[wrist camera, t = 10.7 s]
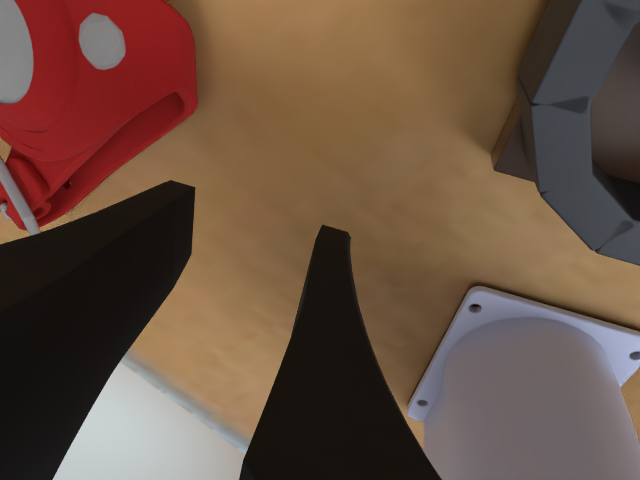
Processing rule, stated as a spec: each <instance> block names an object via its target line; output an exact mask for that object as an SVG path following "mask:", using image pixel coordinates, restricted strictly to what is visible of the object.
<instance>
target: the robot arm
mask: <svg viewBox="0 0 640 480" xmlns="http://www.w3.org/2000/svg"><path fill="white" fill-rule="evenodd" d="M194 202H195V187H192V186H189V185H185V184H182V183H179V182H175V181H172V180H170V181H167V182H165V183H162V184H160V185H157V186H155V187H153V188H151V189H148V190H146V191H144V192H141V193H139V194H137V195H135V196H132V197H130V198H128V199H126V200H123V201H121V202H119V203H116V204H114V205H112V206H109V207H107V208H105V209H102V210H100V211H98V212H95V213H93V214H90V215H87V216H85V217H82V218H79V219H77V220H74V221H71V222H69V223H66V224H63V225H61V226H58V227H56V228H53V229H50V230H47V231H44V232H41V233H38V234H35V235H31V236H28V237H25V238H21V239H18V240H14V241H11V242H7V243H4V244H0V480H52V479H53V478H54V476H55V474H56V472H57V470H58V468H59V466H60V464H61V462H62V460H63V458H64V456H65V455H66V453H67V451H68V449H69V447H70V446H71V443H72V442H73V440H74V438H75V437H76V435H77V433H78V431H79V429H80V427H81V426H82V424H83V422H84V420H85V419H86V417H87V415H88V413H89V411H90V410H91V408H92V406H93V404H94V403H95V401H96V399H97V398H98V396H99V394H100V392H101V391H102V389H103V387H104V386H105V384H106V382H107V381H108V379H109V377H110V375H111V374H112V372H113V371H114V369H115V368H116V366H117V365H118V363H119V362H120V360H121V359H122V358H123V356H124V355H125V353H126V352H127V351H128V349H129V348H130V347H131V345H132V344H133V343H134V341H135V340H136V339H137V337H138V336H139V334H140V333H141V332H142V330H143V329H144V328H145V326H146V325H147V324H148V322H149V321H150V320H151V318H152V317H153V315H154V314H155V313H156V311H157V310H158V309H159V307H160V306H161V304H162V303H163V302H164V300H165V299H166V298H167V296H168V295H169V293H170V292H171V291H172V289H173V288H174V286H175V284H176V282H177V280H178V279H179V277H180V275H181V273H182V271H183V269H184V268H185V266H186V264H187V262H188V260H189V258H190V256H191V252H192V235H193V219H194ZM350 241H351V237H350V235H349V233H348V232H346V231H342V230H339V229H336V228H332V227H329V226H325V225H322V226H321V228H320V231H319V233H318V235H317V238H316V240H315V244H314V248H313V252H312V256H311V260H310V263H309V267H308V271H307V275H306V279H305V283H304V287H303V291H302V295H301V299H300V303H299V307H298V311H297V314H296V318H295V322H294V326H293V331H292V335H291V339H290V342H289V344H288V347H287V350H286V352H285V355H284V358H283V360H282V363H281V366H280V369H279V371H278V374H277V376H276V379H275V382H274V384H273V387H272V389H271V392H270V395H269V397H268V400H267V402H266V405H265V408H264V410H263V413H262V415H261V418H260V420H259V423H258V425H257V428H256V430H255V433H254V435H253V438H252V440H251V443H250V445H249V448H248V450H247V452H246V455H245V457H244V460H243V464H242V469H241V474H240V478H239V480H640V441H639V438H638V436H637V433H636V430H635V427H634V425H633V422H632V419H631V417H630V414H629V411H628V408H627V406H626V403H625V400H624V398H623V395H622V392H621V389H620V387H621V386H622V385H623V384H624V383H625V382H626V381H627V380H628V379H629V377H630V376H631V375H632V374H633V373H634V372H635V371H636V370H637V369H638V368H639V367H640V332H639V331H636V330H632V329H629V328H626V327H622V326H619V325H615V324H612V323H608V322H605V321H601V320H598V319H594V318H591V317H588V316H584V315H581V314H577V313H574V312H570V311H567V310H563V309H560V308H556V307H553V306H550V305H546V304H543V303H539V302H536V301H532V300H529V299H525V298H522V297H518V296H515V295H512V294H508V293H505V292H501V291H498V290H494V289H491V288H487V287H484V286H475V287H473V288H471V289H470V290H469V291H468V292H467V294H466V296H465V298H464V300H463V302H462V304H461V306H460V307H459V309H458V311H457V313H456V315H455V317H454V319H453V321H452V323H451V324H450V326H449V328H448V330H447V332H446V334H445V336H444V338H443V340H442V341H441V343H440V345H439V347H438V349H437V351H436V353H435V355H434V357H433V359H432V360H431V362H430V364H429V366H428V368H427V370H426V372H425V374H424V376H423V377H422V379H421V381H420V383H419V385H418V387H417V389H416V391H415V393H414V394H413V396H412V398H411V400H410V402H409V404H408V406H407V415H408V416H409V417H410V418H412V419H415V420H418V421H422V422H424V443H423V450H422V448H421V446H420V445H419V443H418V441H417V440H416V438H415V436H414V434H413V433H412V431H411V429H410V428H409V426H408V424H407V422H406V420H405V418H404V416H403V414H402V412H401V410H400V409H399V407H398V405H397V403H396V401H395V399H394V397H393V395H392V393H391V391H390V389H389V387H388V385H387V383H386V381H385V378H384V376H383V374H382V371H381V369H380V367H379V364H378V362H377V359H376V357H375V354H374V351H373V349H372V346H371V343H370V340H369V338H368V335H367V331H366V328H365V325H364V321H363V318H362V314H361V311H360V307H359V303H358V299H357V294H356V289H355V284H354V279H353V273H352V265H351V255H350ZM472 304H478V305H479V306H477V307H472V306H470V305H472ZM635 351H638V352H636V353H632V352H635Z"/></svg>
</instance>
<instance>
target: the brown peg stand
mask: <svg viewBox="0 0 640 480" xmlns="http://www.w3.org/2000/svg"><path fill="white" fill-rule="evenodd" d="M590 107H591V137H592V159H593V160H594V161H595V162H596V163H597V165H598V166H599V167H600V168H601V169H602V170H603V172H604V173H605V174H606V175H607V176H611V177H614V178H618V179H622V180H625V181H629V182H632V183H636V184H640V22H638V23H637V24H636V25H635V26H634V28H633V30H632V31H631V33H630V35H629V37H628V39H627V40H626V42H625V44H624V46H623V47H622V49H621V51H620V53H619V55H618V56H617V58H616V60H615V62H614V63H613V65H612V67H611V69H610V71H609V72H608V74H607V76H606V78H605V79H604V81H603V83H602V85H601V87H600V88H599V90H598V92H597V94H596V95H595V97H594V99H593V101H592V103H591V104H590ZM491 159H492V164H493V169H494V171H497V172H501V173H504V174H508V175H511V176H515V177H519V178H522V179H526V180H529V181H533V182H535V181H534V178H533V175H532V172H531V169H530V166H529V163H528V160H527V157H526V154H525V150H524V141H523V132H522V123H521V114H520V104H519V96H518V98H517V100H516V102H515V105H514V107H513V109H512V111H511V113H510V115H509V118H508V120H507V122H506V124H505V126H504V128H503V131H502V133H501V135H500V137H499V139H498V141H497V144H496V146H495V148H494V150H493V152H492V155H491Z"/></svg>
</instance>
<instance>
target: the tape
mask: <svg viewBox="0 0 640 480" xmlns="http://www.w3.org/2000/svg"><path fill="white" fill-rule="evenodd" d="M638 22H640V0H549V2H548V4H547V7H546V9H545V11H544V13H543V16H542V18H541V20H540V22H539V24H538V27H537V29H536V31H535V33H534V36H533V38H532V40H531V42H530V45H529V47H528V49H527V51H526V53H525V56H524V58H523V60H522V62H521V65H520V67H519V69H518V74H519V75H517V86H518V95H519V104H520V114H521V123H522V132H523V141H524V150H525V154H526V157H527V160H528V163H529V166H530V169H531V172H532V175H533V178H534V181H535V184H536V187H537V190H538V192H539V193H540V196H541V197H542V198H543V199H544V200H545V201H546V202H547V203H548V205H549V206H550V207H551V208H552V209H553V210H554V211H555V212H556V213H557V214H558V215H559V216H560V217H561V218H562V220H563V221H564V222H565V223H566V224H567V225H568V226H569V227H570V228H571V229H572V230H573V231H574V232H575V233H576V234H577V236H578V237H579V238H580V239H581V240H582V241H583V242H584V243H585V244H586V245H587V246H588V247H589V248H590V249H591V250H592V251H594V250H595V252H596V253H598V254H601V255H604V256H608V257H611V258H615V259H618V260H622V261H625V262H629V263H632V264H636V265H639V266H640V184H636V183H632V182H629V181H625V180H622V179H618V178H614V177H611V176H607V175H606V174H605V173H604V172H603V170H602V169H601V168H600V167H599V166H598V165H597V163H596V162H595V161H594V160H593V159H592V137H591V107H590V104H591V103H592V101H593V99H594V97H595V95H596V94H597V92H598V90H599V88H600V87H601V85H602V83H603V81H604V79H605V78H606V76H607V74H608V72H609V71H610V69H611V67H612V65H613V63H614V62H615V60H616V58H617V56H618V55H619V53H620V51H621V49H622V47H623V46H624V44H625V42H626V40H627V39H628V37H629V35H630V33H631V31H632V30H633V28H634V26H635V25H636V24H637V23H638Z"/></svg>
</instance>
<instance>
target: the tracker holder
mask: <svg viewBox="0 0 640 480" xmlns="http://www.w3.org/2000/svg"><path fill="white" fill-rule="evenodd" d="M197 104H198V97H197V79H196V60H195V42H194V37H193V34H192V31H191V29H190V26H189V24H188V23H187V21H186V20H185V19H184V17H182V16H181V15H180V14H179V13H178V12H177V11H176V10H175V9H174V8H173V7H172V6H171V5H169V4H168V3H167V2H166V1H165V0H0V137H1V138H2V139H3V140H4V141H6V142H7V143H8V144H9V145H10V146H12V148H11V151H10V153H9V156H8V158H7V161H6V163H4V161H3V159H2V158H1V156H0V210H1V212H2V214H3V215H4V216H5V218H7V219H9V220H11V221H13V222H14V223H15V224H16V225H17V226H18V228H19V229H22V230H27V231H28V232H29V234H30V236H31V235H35V234H38V233H41V231H40V229H39V227H41V226H44V225H46V224H48V223H50V222H52V221H54V220H55V219H57V218H59V217H61V216H62V215H64V214H65V213H67V212H68V211H69V210H71V209H72V208H73V207H75V206H76V205H77V204H78V203H79V202H80V201H81V200H82V199H83V198H85V197H86V196H87V195H88V194H89V193H90V192H91V191H92V190H93V189H95V188H96V187H97V186H98V185H99V184H100V183H101V182H102V181H103V180H104V179H105V178H106V177H107V176H109V175H110V174H111V173H112V172H114V171H115V170H117V169H118V168H119V167H121V166H122V165H123V164H125V163H126V162H128V161H129V160H130V159H132V158H133V157H135V156H136V155H137V154H139V153H140V152H141V151H143V150H144V149H146V148H147V147H148V146H150V145H151V144H152V143H154V142H155V141H157V140H158V139H159V138H161V137H162V136H164V135H165V134H166V133H168V132H169V131H170V130H172V129H173V128H175V127H176V126H177V125H179V124H180V123H182V122H183V121H184V120H186V119H187V118H188V117H189V116H191V115H192V114H193V113H194V111H195V110H196V108H197ZM70 182H71V185H70Z"/></svg>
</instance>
